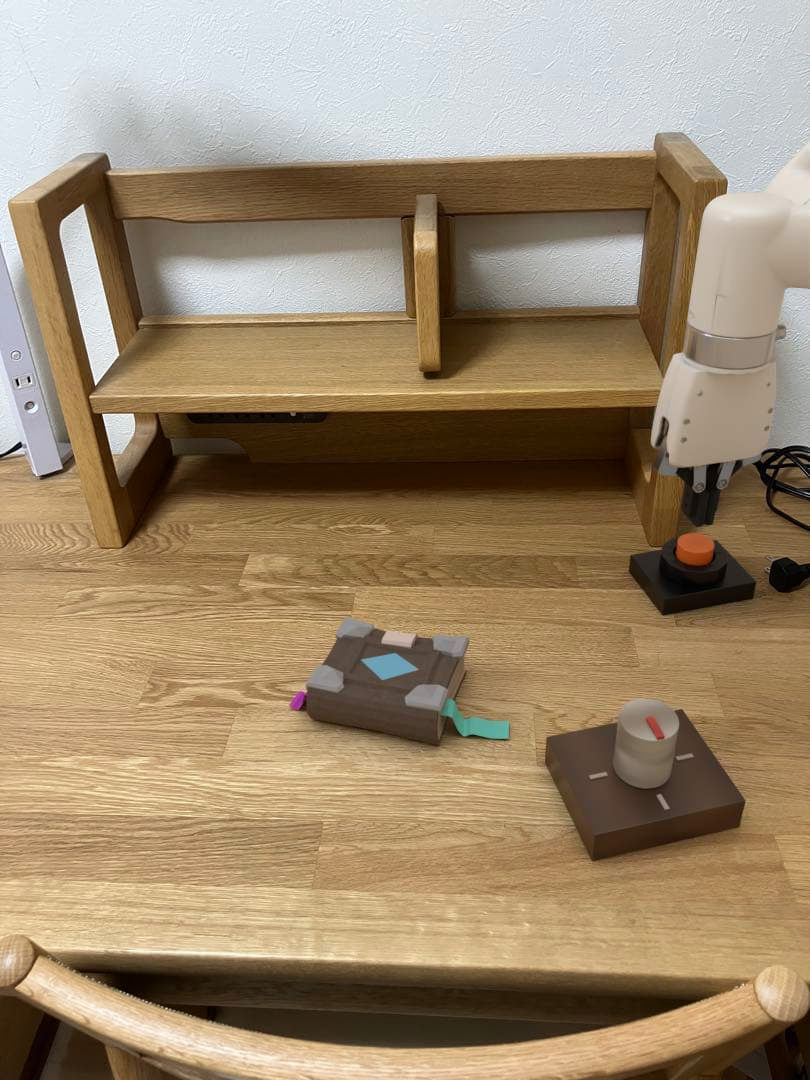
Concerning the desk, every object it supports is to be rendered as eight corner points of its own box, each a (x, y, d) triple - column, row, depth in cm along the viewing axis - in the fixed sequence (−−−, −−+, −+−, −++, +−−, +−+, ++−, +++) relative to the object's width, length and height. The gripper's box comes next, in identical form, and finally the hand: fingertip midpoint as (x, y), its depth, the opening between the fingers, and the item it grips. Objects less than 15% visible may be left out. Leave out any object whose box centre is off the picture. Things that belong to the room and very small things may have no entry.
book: (529, 669, 84) (531, 627, 81) (501, 764, 75) (502, 721, 72) (332, 634, 90) (327, 594, 87) (282, 719, 80) (275, 678, 77)
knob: (604, 750, 71) (610, 700, 68) (656, 741, 72) (664, 691, 69) (625, 793, 68) (632, 742, 65) (680, 783, 68) (690, 732, 65)
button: (701, 544, 94) (703, 530, 93) (718, 563, 91) (721, 549, 90) (669, 550, 93) (671, 536, 92) (686, 569, 90) (688, 555, 89)
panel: (677, 734, 77) (682, 707, 75) (739, 826, 68) (746, 799, 67) (544, 762, 75) (546, 735, 73) (591, 861, 66) (594, 833, 65)
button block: (713, 556, 98) (719, 525, 96) (753, 599, 91) (760, 567, 89) (628, 571, 96) (631, 540, 94) (662, 616, 90) (667, 584, 88)
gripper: (780, 320, 83) (745, 490, 94) (630, 338, 81) (611, 510, 91) (829, 349, 77) (786, 527, 87) (669, 369, 75) (644, 551, 85)
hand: (697, 518), depth 89 cm, fingers closed
